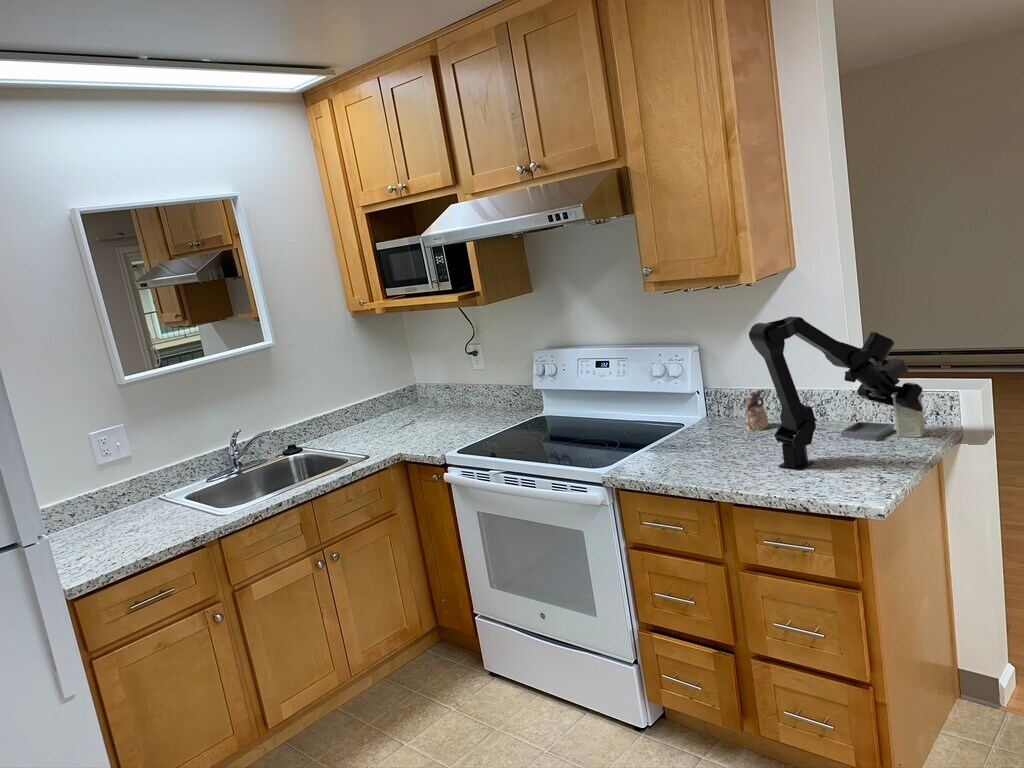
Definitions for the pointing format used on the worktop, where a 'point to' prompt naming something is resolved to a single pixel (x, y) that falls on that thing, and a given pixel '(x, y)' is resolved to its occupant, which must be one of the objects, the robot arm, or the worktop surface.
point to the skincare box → (908, 420)
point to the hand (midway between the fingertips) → (908, 407)
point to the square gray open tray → (867, 430)
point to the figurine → (755, 412)
